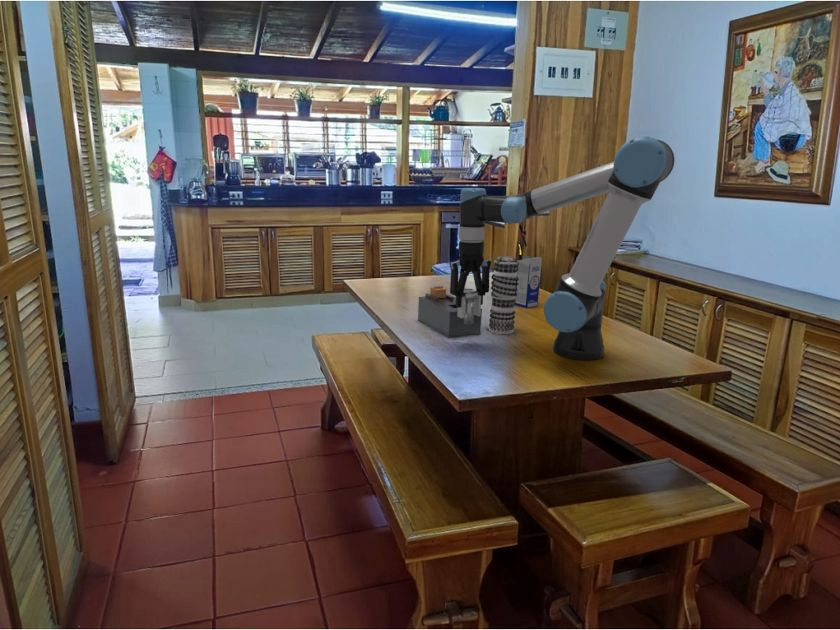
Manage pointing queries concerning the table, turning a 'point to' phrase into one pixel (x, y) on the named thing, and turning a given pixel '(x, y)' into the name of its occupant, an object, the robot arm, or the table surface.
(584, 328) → the robot arm
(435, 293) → the block
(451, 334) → the hitch block
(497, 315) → the decorative candle
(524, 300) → the milk carton
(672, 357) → the table surface
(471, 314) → the pin
